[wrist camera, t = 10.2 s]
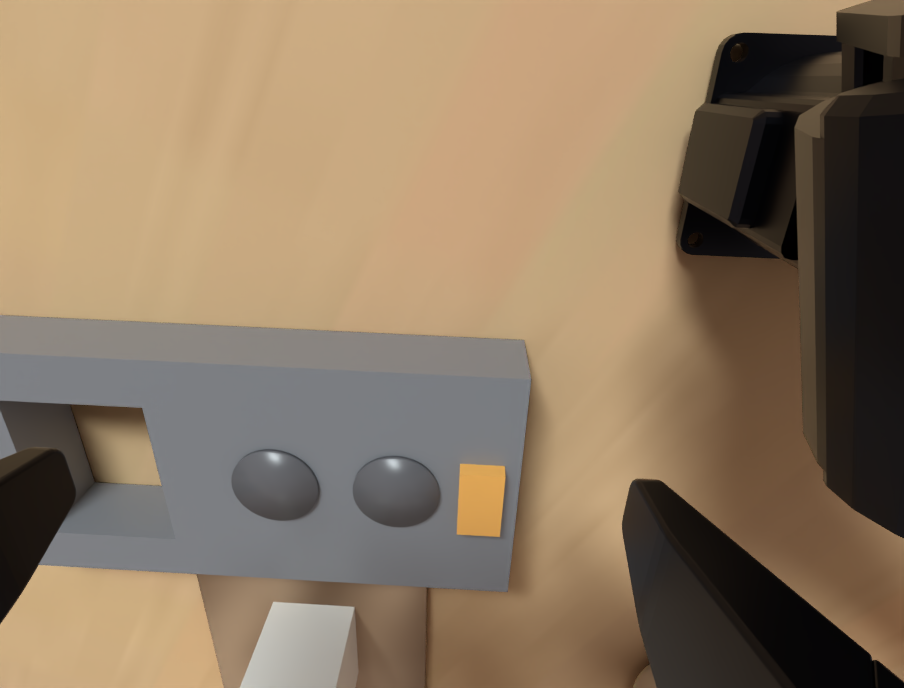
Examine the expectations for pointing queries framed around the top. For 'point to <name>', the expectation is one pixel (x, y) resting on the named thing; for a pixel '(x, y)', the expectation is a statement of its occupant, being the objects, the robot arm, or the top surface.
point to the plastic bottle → (645, 679)
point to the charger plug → (305, 648)
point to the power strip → (281, 448)
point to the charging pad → (376, 606)
